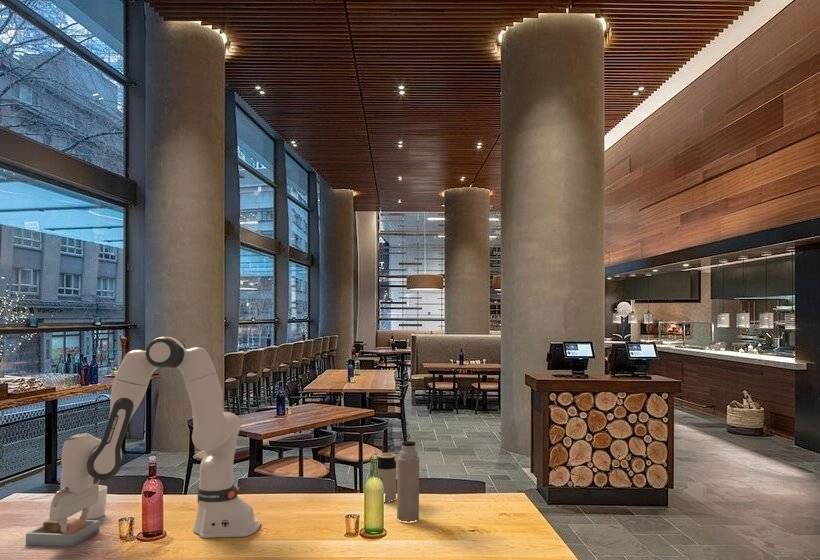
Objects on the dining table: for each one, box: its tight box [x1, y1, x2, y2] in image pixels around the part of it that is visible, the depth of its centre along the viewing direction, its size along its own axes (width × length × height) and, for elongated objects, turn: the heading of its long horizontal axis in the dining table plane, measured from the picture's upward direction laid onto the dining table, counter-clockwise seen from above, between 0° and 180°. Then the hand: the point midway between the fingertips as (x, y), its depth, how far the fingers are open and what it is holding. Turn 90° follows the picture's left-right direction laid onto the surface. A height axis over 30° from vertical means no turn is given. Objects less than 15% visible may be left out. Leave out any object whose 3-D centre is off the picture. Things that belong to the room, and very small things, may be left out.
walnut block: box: [42, 518, 63, 534], centre depth 198 cm, size 4×4×4 cm
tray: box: [25, 518, 101, 548], centre depth 198 cm, size 16×14×4 cm
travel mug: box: [377, 452, 397, 502], centre depth 240 cm, size 8×8×18 cm
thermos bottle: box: [396, 440, 420, 522], centre depth 218 cm, size 8×8×28 cm
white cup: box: [87, 484, 108, 520], centre depth 219 cm, size 8×8×10 cm
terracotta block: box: [63, 518, 85, 534], centre depth 197 cm, size 4×4×4 cm
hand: (74, 526), depth 197 cm, fingers open, 8 cm apart
